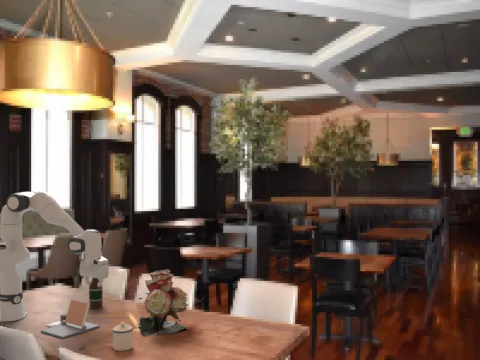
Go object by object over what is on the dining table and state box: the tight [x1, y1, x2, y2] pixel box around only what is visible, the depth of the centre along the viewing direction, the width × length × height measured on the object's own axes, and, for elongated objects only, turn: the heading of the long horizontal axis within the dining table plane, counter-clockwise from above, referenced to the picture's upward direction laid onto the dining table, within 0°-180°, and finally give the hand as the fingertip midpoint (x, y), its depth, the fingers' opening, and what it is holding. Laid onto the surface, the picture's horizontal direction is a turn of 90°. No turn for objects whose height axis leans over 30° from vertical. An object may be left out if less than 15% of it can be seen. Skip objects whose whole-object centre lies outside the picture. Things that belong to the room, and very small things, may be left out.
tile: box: [65, 298, 90, 327], centre depth 258 cm, size 12×14×1 cm
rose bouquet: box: [134, 268, 189, 337], centre depth 257 cm, size 26×29×30 cm
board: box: [40, 320, 100, 340], centre depth 255 cm, size 18×22×3 cm
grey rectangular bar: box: [45, 313, 67, 328], centre depth 267 cm, size 16×5×4 cm, turn 145°
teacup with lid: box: [109, 321, 134, 352], centre depth 227 cm, size 12×9×12 cm
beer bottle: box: [88, 277, 104, 309], centre depth 300 cm, size 8×8×24 cm
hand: (93, 285), depth 267 cm, fingers open, 8 cm apart
